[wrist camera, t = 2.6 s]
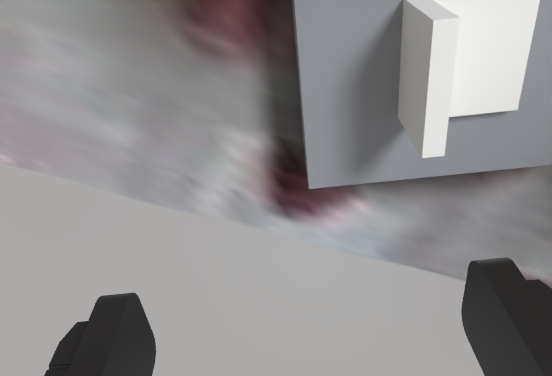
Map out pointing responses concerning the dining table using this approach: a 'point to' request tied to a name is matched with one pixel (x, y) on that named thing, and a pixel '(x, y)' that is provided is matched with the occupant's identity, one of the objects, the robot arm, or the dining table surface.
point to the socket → (385, 96)
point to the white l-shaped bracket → (460, 63)
